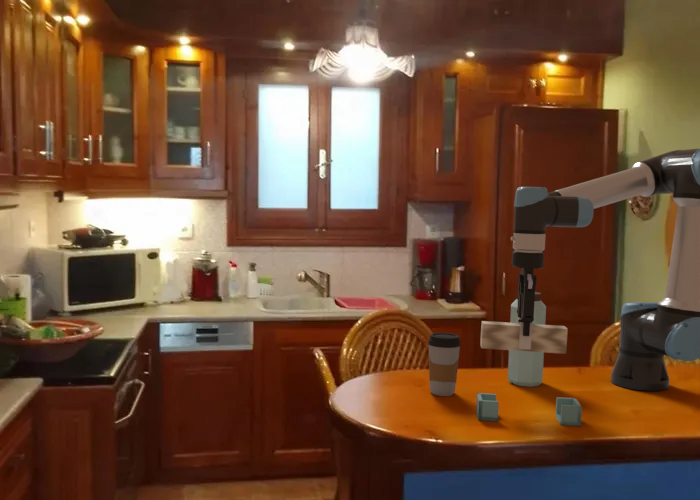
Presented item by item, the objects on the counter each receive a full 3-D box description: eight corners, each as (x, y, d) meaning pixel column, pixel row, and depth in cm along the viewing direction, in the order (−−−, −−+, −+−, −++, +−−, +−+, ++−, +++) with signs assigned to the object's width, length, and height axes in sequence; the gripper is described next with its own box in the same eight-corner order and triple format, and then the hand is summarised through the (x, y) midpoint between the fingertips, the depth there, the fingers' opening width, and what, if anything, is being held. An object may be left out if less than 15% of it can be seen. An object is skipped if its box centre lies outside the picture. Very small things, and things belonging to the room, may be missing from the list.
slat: (563, 350, 177) (564, 326, 176) (566, 353, 173) (567, 328, 172) (480, 344, 179) (481, 320, 179) (481, 348, 175) (482, 323, 175)
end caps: (574, 417, 169) (575, 398, 169) (580, 426, 163) (581, 406, 162) (476, 411, 171) (477, 392, 171) (478, 420, 165) (479, 400, 165)
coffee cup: (457, 398, 182) (460, 339, 181) (424, 395, 184) (426, 337, 182) (459, 390, 190) (461, 333, 189) (427, 387, 192) (429, 331, 190)
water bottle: (534, 389, 192) (539, 296, 190) (500, 382, 198) (504, 292, 196) (549, 382, 200) (553, 293, 198) (515, 376, 206) (519, 289, 204)
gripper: (508, 247, 183) (504, 339, 185) (516, 253, 166) (511, 353, 168) (539, 249, 182) (534, 340, 184) (549, 254, 165) (544, 355, 167)
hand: (523, 346), depth 176 cm, fingers closed on slat, 4 cm apart
